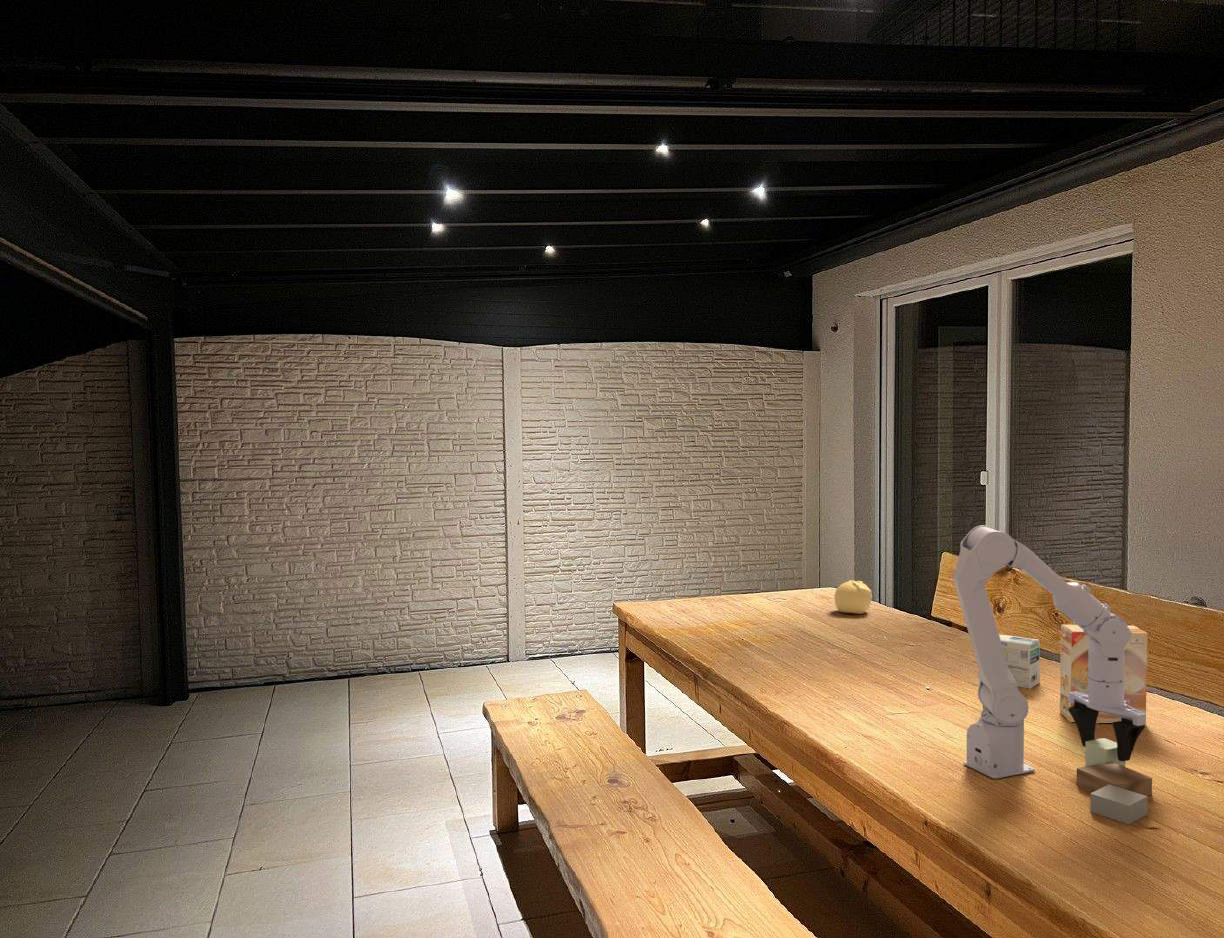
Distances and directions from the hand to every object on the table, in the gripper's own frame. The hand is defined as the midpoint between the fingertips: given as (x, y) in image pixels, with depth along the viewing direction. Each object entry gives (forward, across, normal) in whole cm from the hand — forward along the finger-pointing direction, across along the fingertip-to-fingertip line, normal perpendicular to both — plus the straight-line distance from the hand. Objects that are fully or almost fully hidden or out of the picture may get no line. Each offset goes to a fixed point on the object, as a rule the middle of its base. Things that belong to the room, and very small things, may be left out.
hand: (1105, 752), depth 163 cm
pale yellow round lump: (+3, +131, -38) cm, 136 cm away
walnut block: (+3, -7, +6) cm, 10 cm away
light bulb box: (+3, +49, -26) cm, 56 cm away
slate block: (+3, -14, +13) cm, 19 cm away
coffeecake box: (+3, +21, -23) cm, 31 cm away
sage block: (+3, 0, 0) cm, 3 cm away
